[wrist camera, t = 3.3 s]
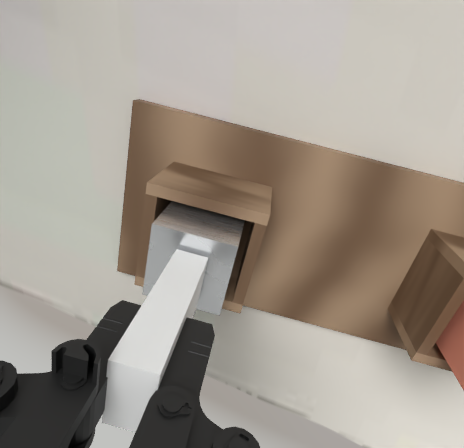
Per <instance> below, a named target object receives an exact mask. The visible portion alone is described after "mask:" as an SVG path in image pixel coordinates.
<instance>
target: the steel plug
mask: <svg viewBox="0 0 464 448" xmlns="http://www.w3.org/2000/svg"><path fill="white" fill-rule="evenodd" d="M244 222H245V220H243V219H239V218H235V217H231V216H227V215H224V214H220V213H216V212H212V211H209V210H205V209H201V208H197V207H194V206H190V205H186V204H182V203H179V202H175V201H172V202H171V203H170V204H169V205H168V206H167V207H166V208H165V210H164V211H163V212H162V213H161V214H160V215H159V216H158V218H157V219H156V220H155V221H154V222H153V223H152V227H151V234H150V242H149V249H148V256H147V264H146V271H145V278H144V286H143V293H142V294H143V295H147V296H148V294H149V293H150V291H151V290H152V288H153V286H154V285H155V283H156V281H157V280H158V278H159V277H160V275H161V273H162V272H163V270H164V269H165V267H166V265H167V264H168V262H169V261H170V259H171V257H172V256H173V254H174V252H175V251H176V249H178V250H182V251H186V252H189V253H193V254H197V255H200V256H204V257H208V262H207V266H206V270H205V275H204V279H203V283H202V288H201V292H200V296H199V301H198V305H197V307H196V309H198V310H201V311H205V312H208V313H212V314H216V315H219V316H220V312H221V309H222V305H223V301H224V298H225V294H226V290H227V287H228V283H229V279H230V276H231V272H232V268H233V264H234V261H235V257H236V253H237V250H238V246H239V242H240V238H241V234H242V230H243V226H244Z"/></svg>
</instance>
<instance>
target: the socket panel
mask: <svg viewBox="0 0 464 448" xmlns="http://www.w3.org/2000/svg"><path fill="white" fill-rule="evenodd" d="M172 201H175V202H179V203H182V204H186V205H190V206H194V207H197V208H201V209H205V210H209V211H212V212H216V213H220V214H224V215H227V216H231V217H235V218H239V219H243V220H245V222H244V226H243V230H242V234H241V238H240V242H239V246H238V250H237V253H236V257H235V261H234V264H233V268H232V272H231V276H230V279H229V283H228V287H227V290H226V294H225V298H224V301H223V305H222V309H226V310H230V311H233V312H237V313H241V309H242V306H243V305H244V306H247V307H251V308H255V309H258V310H262V311H266V312H269V313H273V314H277V315H280V316H284V317H288V318H291V319H295V320H299V321H302V322H306V323H310V324H313V325H317V326H321V327H324V328H328V329H332V330H335V331H339V332H343V333H346V334H350V335H353V336H357V337H361V338H364V339H368V340H372V341H375V342H379V343H383V344H386V345H390V346H394V347H397V348H401V349H405V350H407V352H408V354H409V356H410V358H411V360H412V361H416V362H419V363H423V364H427V365H430V366H434V367H438V368H441V369H445V370H449V371H452V370H451V368H450V366H449V365H448V363H447V361H446V359H445V358H444V356H443V354H442V353H441V351H440V349H439V348H438V346H437V344H436V341H437V340H438V338H439V337H440V335H441V334H442V332H443V331H444V329H445V328H446V326H447V325H448V323H449V322H450V320H451V319H452V317H453V316H454V314H455V313H456V311H457V310H458V308H459V307H460V305H461V304H462V302H463V301H464V183H462V182H458V181H454V180H450V179H446V178H443V177H439V176H435V175H431V174H427V173H423V172H419V171H415V170H412V169H408V168H404V167H400V166H396V165H392V164H388V163H384V162H380V161H377V160H373V159H369V158H365V157H361V156H357V155H353V154H349V153H346V152H342V151H338V150H334V149H330V148H326V147H322V146H318V145H315V144H311V143H307V142H303V141H299V140H295V139H291V138H287V137H284V136H280V135H276V134H272V133H268V132H264V131H260V130H256V129H252V128H249V127H245V126H241V125H237V124H233V123H229V122H225V121H221V120H218V119H214V118H210V117H206V116H202V115H198V114H194V113H190V112H187V111H183V110H179V109H175V108H171V107H167V106H163V105H159V104H156V103H152V102H148V101H144V100H140V99H139V100H133V106H132V117H131V128H130V139H129V150H128V160H127V171H126V182H125V193H124V203H123V214H122V225H121V236H120V247H119V257H118V268H117V271H119V272H123V273H127V274H130V275H134V276H135V285H138V286H142V287H143V286H144V278H145V271H146V264H147V256H148V249H149V242H150V234H151V227H152V223H153V222H154V221H155V220H156V219H157V218H158V216H159V215H160V214H161V213H162V212H163V211H164V210H165V208H166V207H167V206H168V205H169V204H170V203H171V202H172ZM452 372H453V371H452Z"/></svg>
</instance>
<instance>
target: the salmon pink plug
mask: <svg viewBox="0 0 464 448" xmlns="http://www.w3.org/2000/svg"><path fill="white" fill-rule="evenodd" d="M436 344H437V346H438V348H439V349H440V351H441V353H442V354H443V356H444V358H445V359H446V361H447V363H448V365H449V366H450V368H451V370H452V371H453V373H454V375H455V376H456V378H457V380H458V382H459V383H460V385H461V387H462V388H463V390H464V301H463V302H462V304H461V305H460V307H459V308H458V310H457V311H456V313H455V314H454V316H453V317H452V319H451V320H450V322H449V323H448V325H447V326H446V328H445V329H444V331H443V332H442V334H441V335H440V337H439V338H438V340H437V341H436Z"/></svg>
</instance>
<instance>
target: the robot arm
mask: <svg viewBox="0 0 464 448" xmlns="http://www.w3.org/2000/svg"><path fill="white" fill-rule="evenodd" d="M207 262H208V257H204V256H200V255H197V254H193V253H189V252H186V251H182V250H178V249H176V251H175V252H174V254H173V256H172V257H171V259H170V261H169V262H168V264H167V265H166V267H165V269H164V270H163V272H162V273H161V275H160V277H159V278H158V280H157V281H156V283H155V285H154V286H153V288H152V290H151V291H150V293H149V294H148V296H147V298H146V299H145V301H144V302H143V304H142V306H141V305H137V304H134V303H130V302H127V301H123V300H122V301H120V302H119V303H117V304H116V305H114V306H112V307H111V308H110V309H109V310H108V312H107V313H106V314H105V316H104V317H103V319H102V320H101V321H100V322H99V324H98V325H97V327H96V328H95V329H94V331H93V332H92V333H91V335H90V336H89V337H88V338H87V340H82V339H76V340H70V341H67V342H64V343H62V344H60V345H58V346H57V347H56V348H55V349H54V350H52V371H51V372H47V373H34V374H17V372H16V368H15V367H14V366H13V365H12V364H11V363H7V362H5V361H0V448H89V447H90V445H91V443H92V441H93V437H94V434H95V427H96V425H97V423H98V421H99V419H100V417H101V415H102V414H103V417H102V423H105V424H108V425H112V426H115V427H118V428H122V429H125V430H129V431H132V432H136V433H135V435H134V437H133V440H132V442H131V445H130V447H129V448H260V446H259V443H258V442H257V441H256V439H255V438H254V437H253V435H252V434H250V433H249V432H247V431H246V430H245V429H242V428H237V427H230V428H225V429H224V430H223V429H221V428H220V427H219V426H217V425H216V424H214V423H213V422H212V421H210V420H209V419H208V418H207V417H206V416H205V414H204V413H203V411H202V409H201V406H200V402H199V396H200V390H201V386H202V382H203V378H204V375H205V371H206V367H207V363H208V359H209V355H210V352H211V348H212V344H213V340H214V336H215V335H214V331H213V327H212V324H209V323H205V322H202V321H198V320H194V319H192V318H193V316H194V313H195V310H196V307H197V305H198V301H199V296H200V292H201V288H202V283H203V279H204V275H205V270H206V266H207Z"/></svg>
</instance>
